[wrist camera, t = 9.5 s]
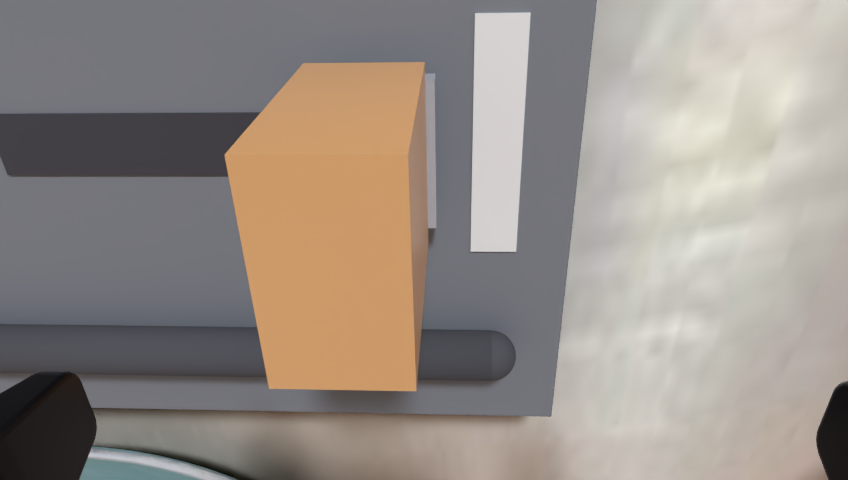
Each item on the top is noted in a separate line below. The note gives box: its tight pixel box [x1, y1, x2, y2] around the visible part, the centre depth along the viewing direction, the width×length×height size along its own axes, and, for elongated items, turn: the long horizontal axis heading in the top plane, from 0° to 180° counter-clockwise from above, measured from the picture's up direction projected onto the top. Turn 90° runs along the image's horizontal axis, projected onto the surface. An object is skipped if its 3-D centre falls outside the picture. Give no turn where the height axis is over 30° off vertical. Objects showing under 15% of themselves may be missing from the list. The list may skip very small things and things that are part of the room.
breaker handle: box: [225, 62, 437, 391], centre depth 12 cm, size 4×3×6 cm
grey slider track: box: [0, 324, 516, 381], centre depth 15 cm, size 13×21×1 cm, turn 91°
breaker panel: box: [0, 0, 597, 417], centre depth 17 cm, size 18×24×3 cm
